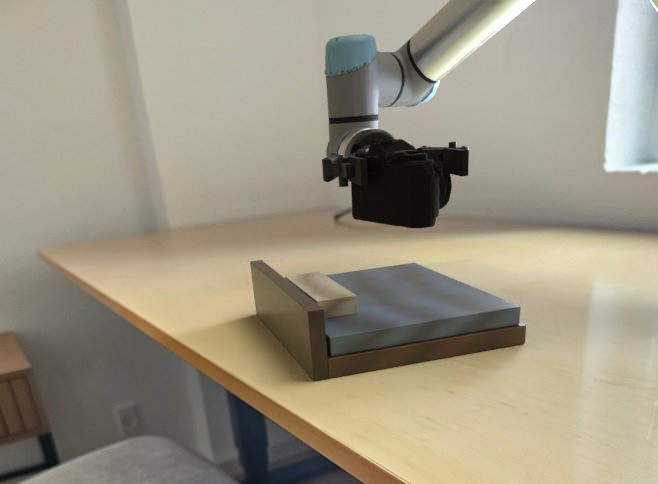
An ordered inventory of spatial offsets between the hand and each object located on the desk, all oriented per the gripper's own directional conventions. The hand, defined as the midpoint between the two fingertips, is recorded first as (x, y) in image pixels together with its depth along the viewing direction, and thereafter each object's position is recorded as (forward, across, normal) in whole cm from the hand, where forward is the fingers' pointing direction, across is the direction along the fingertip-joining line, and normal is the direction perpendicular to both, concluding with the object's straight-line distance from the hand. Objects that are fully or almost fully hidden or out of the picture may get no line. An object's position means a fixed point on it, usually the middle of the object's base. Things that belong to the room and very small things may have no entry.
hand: (415, 167), depth 73 cm
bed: (+1, +5, -17) cm, 18 cm away
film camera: (-4, 0, -6) cm, 7 cm away
